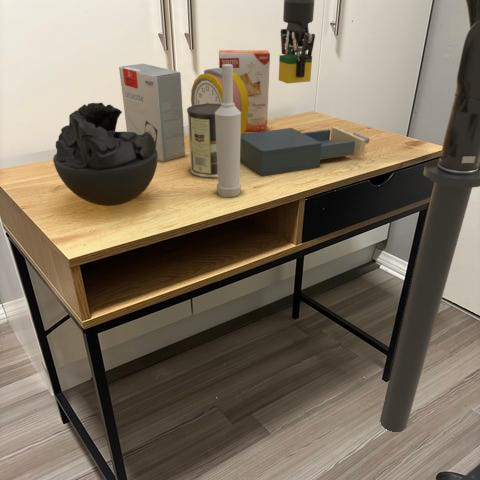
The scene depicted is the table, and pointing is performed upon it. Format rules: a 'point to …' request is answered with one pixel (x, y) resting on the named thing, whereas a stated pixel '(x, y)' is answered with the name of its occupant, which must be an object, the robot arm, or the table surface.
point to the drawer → (339, 142)
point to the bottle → (228, 139)
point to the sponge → (293, 69)
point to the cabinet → (279, 151)
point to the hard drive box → (154, 107)
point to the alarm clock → (220, 92)
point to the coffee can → (203, 139)
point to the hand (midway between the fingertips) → (294, 75)
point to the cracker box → (251, 82)
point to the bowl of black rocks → (104, 157)
